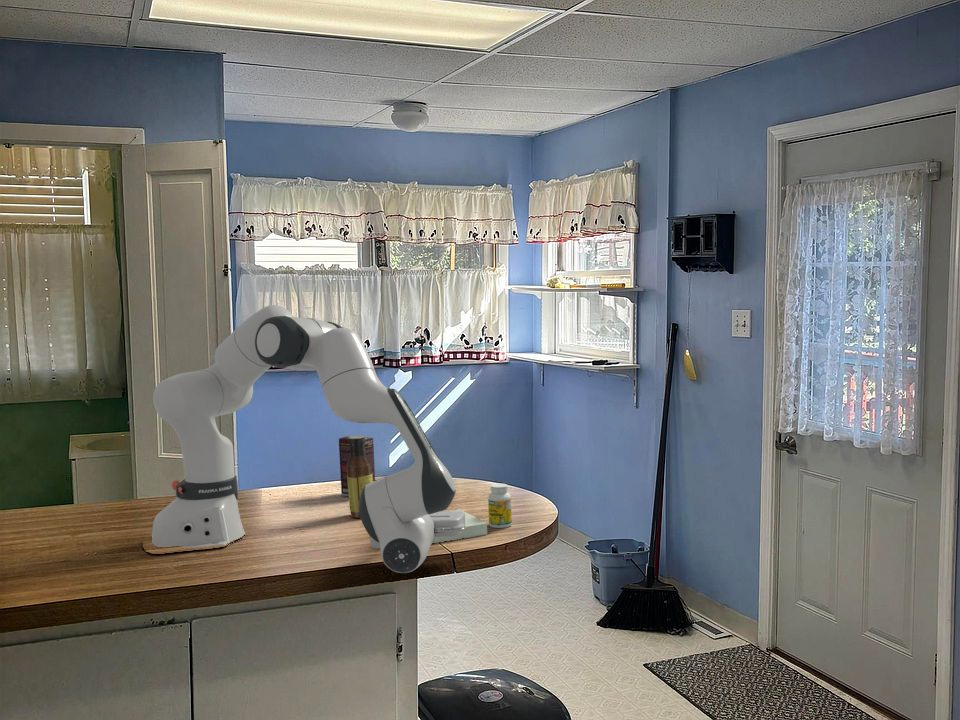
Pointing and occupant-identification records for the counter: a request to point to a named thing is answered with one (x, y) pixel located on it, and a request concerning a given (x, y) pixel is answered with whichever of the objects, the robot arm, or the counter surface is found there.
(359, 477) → the sauce bottle
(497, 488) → the supplement bottle
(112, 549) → the counter surface
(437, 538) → the socket board
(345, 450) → the supplement box
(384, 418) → the robot arm
